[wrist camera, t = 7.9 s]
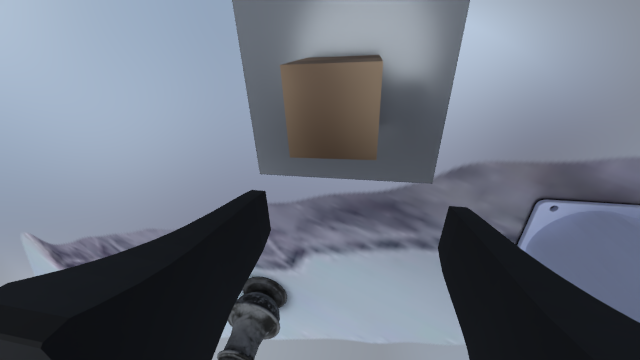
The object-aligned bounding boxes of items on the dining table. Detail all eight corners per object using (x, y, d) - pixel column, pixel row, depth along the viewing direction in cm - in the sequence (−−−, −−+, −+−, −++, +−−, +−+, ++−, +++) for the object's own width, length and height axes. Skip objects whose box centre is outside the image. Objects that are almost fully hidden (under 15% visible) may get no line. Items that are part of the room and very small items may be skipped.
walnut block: (379, 54, 14) (383, 61, 9) (374, 127, 16) (376, 160, 11) (307, 57, 14) (279, 64, 10) (311, 126, 16) (289, 157, 12)
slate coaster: (463, -42, 13) (482, -58, 11) (425, 167, 19) (432, 183, 17) (247, -24, 15) (226, -35, 13) (271, 160, 21) (260, 174, 19)
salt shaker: (232, 290, 30) (161, 420, 20) (255, 267, 28) (186, 402, 17) (272, 315, 31) (224, 451, 21) (299, 294, 29) (258, 439, 18)
